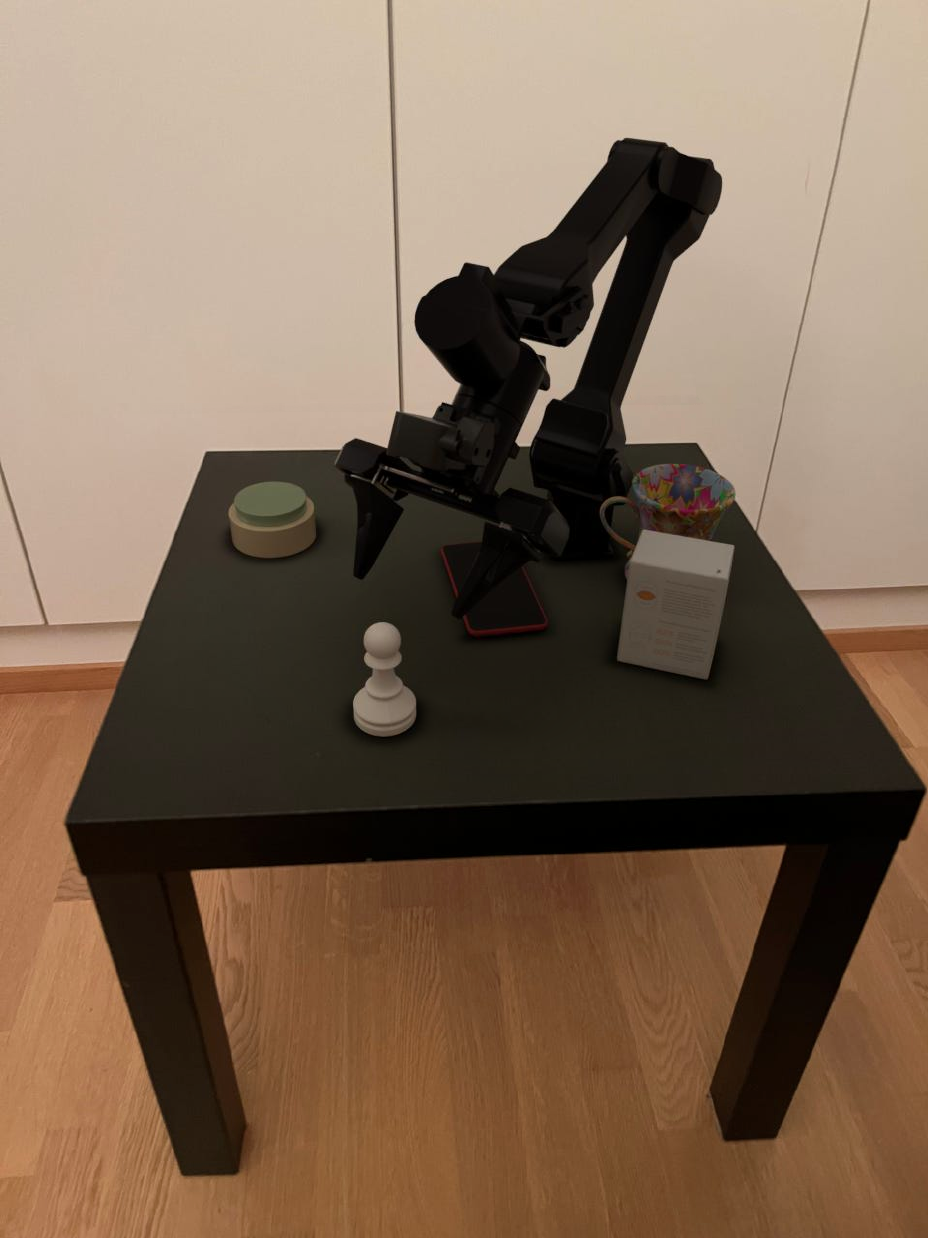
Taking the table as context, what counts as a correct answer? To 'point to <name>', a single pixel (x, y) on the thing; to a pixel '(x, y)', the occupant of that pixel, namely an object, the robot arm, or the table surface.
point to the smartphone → (495, 597)
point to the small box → (674, 603)
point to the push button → (272, 520)
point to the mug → (676, 502)
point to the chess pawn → (384, 686)
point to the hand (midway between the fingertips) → (405, 597)
